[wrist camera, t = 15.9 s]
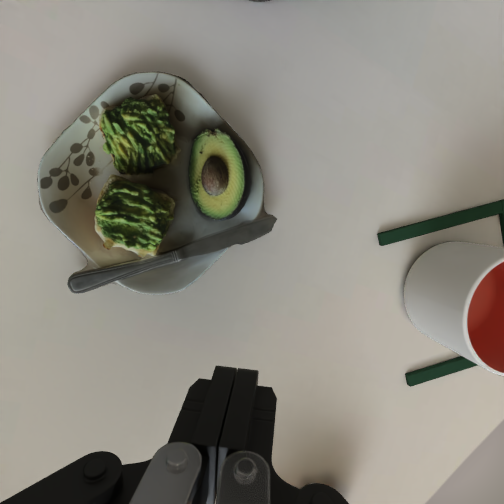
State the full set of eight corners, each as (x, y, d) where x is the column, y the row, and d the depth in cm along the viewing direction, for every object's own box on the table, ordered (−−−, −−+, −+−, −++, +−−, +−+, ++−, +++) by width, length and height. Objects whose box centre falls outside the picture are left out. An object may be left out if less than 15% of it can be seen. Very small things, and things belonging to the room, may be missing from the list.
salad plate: (142, 348, 38) (136, 368, 33) (-12, 204, 35) (-43, 204, 30) (295, 203, 38) (309, 203, 34) (157, 48, 35) (152, 25, 31)
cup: (495, 243, 42) (589, 255, 32) (482, 338, 43) (568, 378, 33) (404, 236, 40) (473, 247, 31) (392, 335, 41) (455, 376, 32)
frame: (376, 233, 40) (379, 233, 39) (507, 198, 42) (512, 198, 41) (406, 384, 42) (409, 387, 42) (529, 345, 44) (534, 347, 43)
